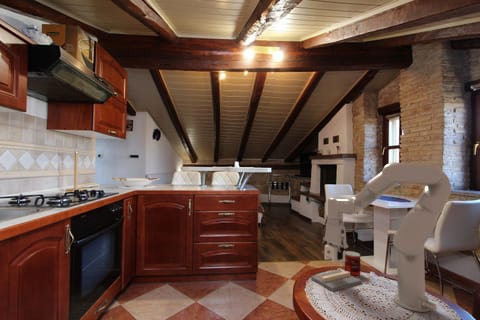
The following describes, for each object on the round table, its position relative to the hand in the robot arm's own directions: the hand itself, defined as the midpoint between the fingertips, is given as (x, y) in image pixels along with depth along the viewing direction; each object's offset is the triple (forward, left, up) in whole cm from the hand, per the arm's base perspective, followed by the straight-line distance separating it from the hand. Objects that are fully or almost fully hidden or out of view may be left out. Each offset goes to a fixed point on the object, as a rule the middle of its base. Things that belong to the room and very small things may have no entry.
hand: (334, 256), depth 122 cm
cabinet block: (0, 0, -2) cm, 2 cm away
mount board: (0, 0, -12) cm, 12 cm away
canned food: (+3, -16, -12) cm, 21 cm away
